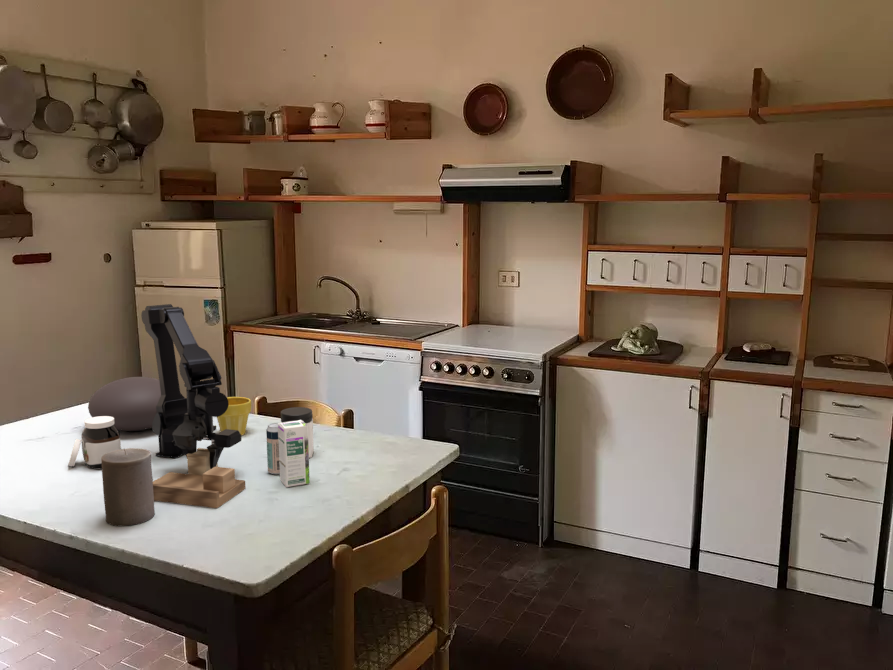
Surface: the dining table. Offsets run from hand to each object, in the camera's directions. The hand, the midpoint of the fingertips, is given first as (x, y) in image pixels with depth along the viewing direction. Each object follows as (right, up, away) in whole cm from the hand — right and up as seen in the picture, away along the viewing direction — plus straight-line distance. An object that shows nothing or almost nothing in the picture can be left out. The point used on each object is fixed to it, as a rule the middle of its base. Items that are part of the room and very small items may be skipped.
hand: (202, 469), depth 186 cm
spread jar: (-29, 0, +6) cm, 30 cm away
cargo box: (+8, -2, -15) cm, 17 cm away
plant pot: (-2, +4, +32) cm, 33 cm away
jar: (+20, +1, +14) cm, 25 cm away
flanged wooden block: (0, -1, 0) cm, 1 cm away
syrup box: (+23, -2, -5) cm, 24 cm away
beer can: (+18, -1, +2) cm, 18 cm away
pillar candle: (-7, -6, -25) cm, 27 cm away
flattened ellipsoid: (-31, +5, +37) cm, 49 cm away
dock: (+2, -3, -13) cm, 13 cm away
